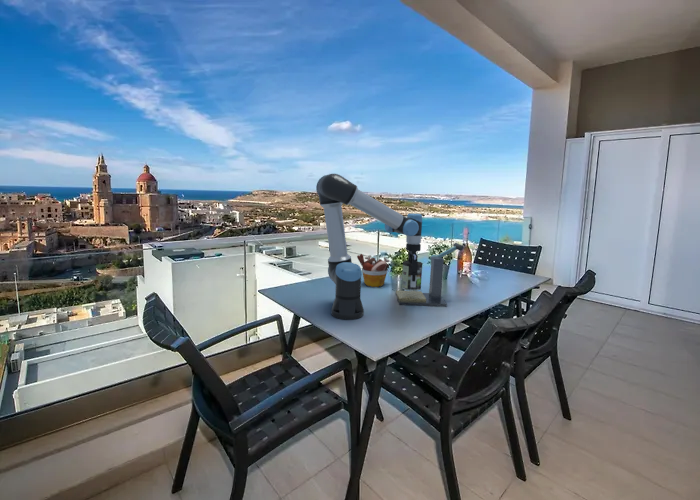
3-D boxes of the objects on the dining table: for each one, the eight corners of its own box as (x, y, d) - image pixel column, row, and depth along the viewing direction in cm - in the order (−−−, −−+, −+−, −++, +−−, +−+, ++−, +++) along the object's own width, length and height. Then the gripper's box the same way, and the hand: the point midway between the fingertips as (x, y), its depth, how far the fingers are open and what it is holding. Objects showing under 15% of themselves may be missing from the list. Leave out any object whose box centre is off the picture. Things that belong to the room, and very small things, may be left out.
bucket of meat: (384, 280, 211) (385, 251, 208) (392, 287, 195) (394, 255, 192) (354, 281, 207) (355, 251, 204) (360, 289, 191) (361, 256, 188)
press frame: (399, 305, 164) (401, 260, 160) (395, 294, 182) (397, 253, 178) (446, 306, 164) (449, 261, 160) (438, 295, 181) (441, 255, 177)
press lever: (434, 265, 171) (431, 258, 171) (431, 261, 179) (428, 255, 179) (464, 249, 169) (461, 243, 169) (460, 247, 177) (456, 241, 177)
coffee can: (424, 288, 173) (425, 262, 171) (415, 292, 165) (417, 265, 162) (407, 284, 179) (408, 259, 177) (398, 288, 171) (399, 262, 169)
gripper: (424, 246, 157) (422, 290, 160) (417, 240, 179) (414, 279, 183) (409, 246, 157) (407, 290, 160) (403, 240, 179) (401, 278, 183)
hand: (411, 284), depth 171 cm, fingers closed on coffee can, 10 cm apart
